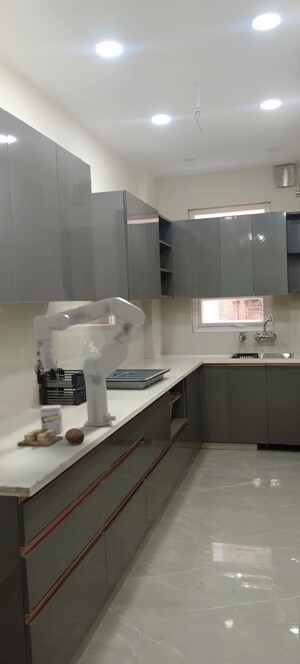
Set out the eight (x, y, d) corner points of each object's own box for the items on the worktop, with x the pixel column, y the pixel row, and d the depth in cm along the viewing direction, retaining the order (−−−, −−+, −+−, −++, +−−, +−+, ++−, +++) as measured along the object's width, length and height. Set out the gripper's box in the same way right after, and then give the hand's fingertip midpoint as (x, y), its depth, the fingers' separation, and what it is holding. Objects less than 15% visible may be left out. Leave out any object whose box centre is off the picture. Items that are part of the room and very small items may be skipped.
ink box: (41, 434, 222) (39, 408, 222) (44, 432, 227) (42, 406, 226) (61, 433, 222) (59, 407, 221) (63, 431, 227) (61, 404, 226)
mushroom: (61, 434, 207) (67, 422, 205) (79, 438, 210) (85, 427, 208) (62, 447, 201) (68, 436, 198) (81, 452, 204) (87, 440, 201)
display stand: (33, 437, 217) (33, 428, 217) (62, 438, 213) (61, 429, 213) (17, 445, 206) (16, 435, 206) (47, 446, 201) (47, 436, 201)
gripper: (40, 345, 215) (43, 385, 215) (61, 341, 231) (64, 378, 231) (25, 345, 217) (28, 385, 218) (47, 342, 233) (50, 379, 234)
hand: (47, 382), depth 225 cm, fingers open, 9 cm apart
